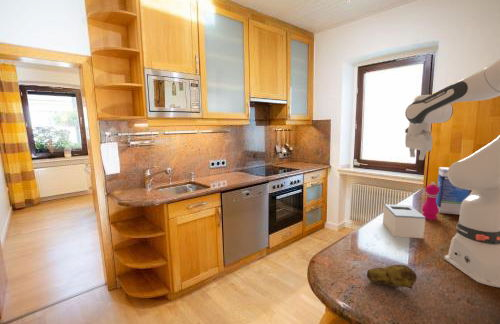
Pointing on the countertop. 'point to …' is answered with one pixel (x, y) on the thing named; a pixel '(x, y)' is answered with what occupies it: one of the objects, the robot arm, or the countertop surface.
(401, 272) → the potato
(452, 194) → the string lights box
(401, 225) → the coin box
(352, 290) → the countertop surface
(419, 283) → the countertop surface
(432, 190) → the pepper mill
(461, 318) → the countertop surface
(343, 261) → the countertop surface
